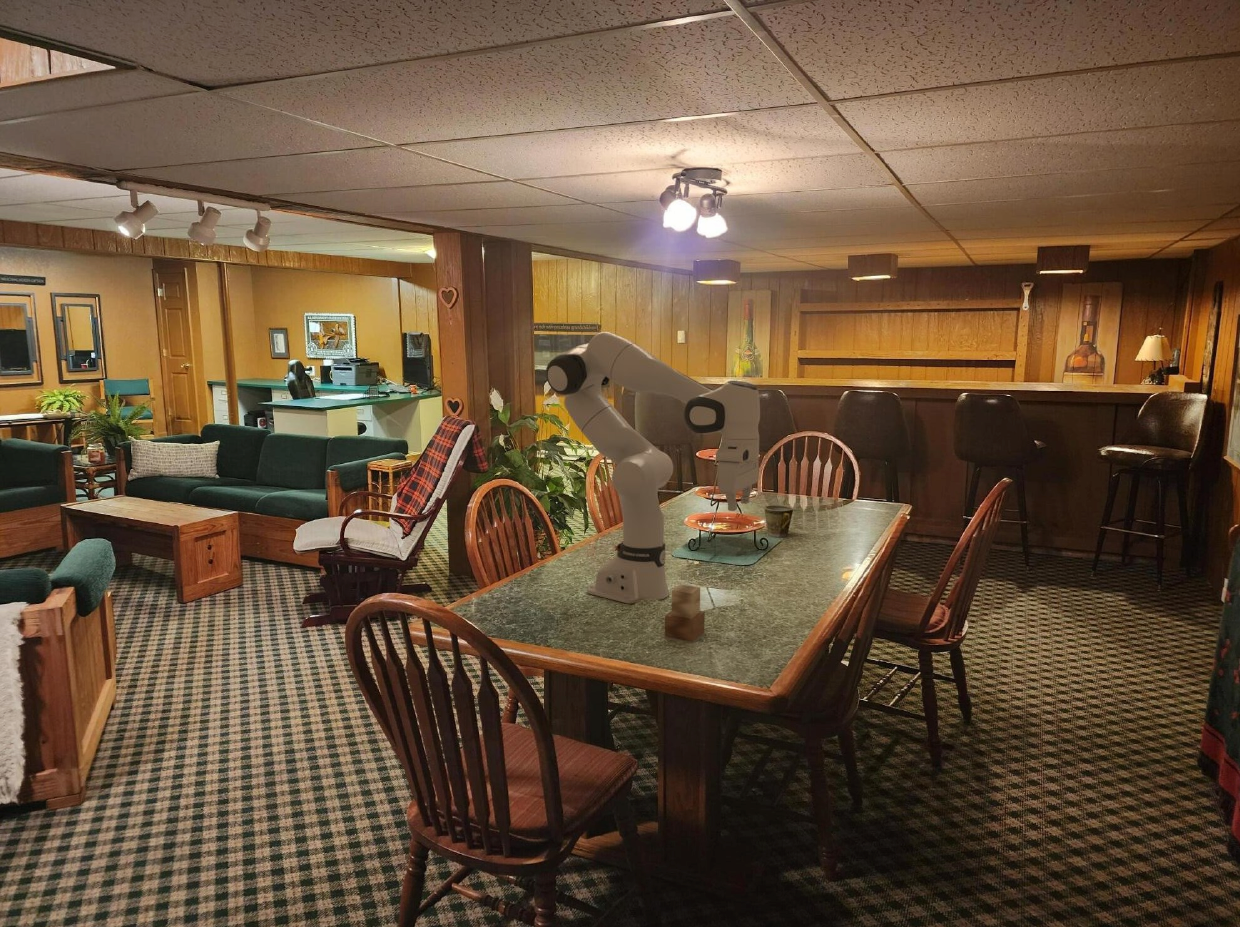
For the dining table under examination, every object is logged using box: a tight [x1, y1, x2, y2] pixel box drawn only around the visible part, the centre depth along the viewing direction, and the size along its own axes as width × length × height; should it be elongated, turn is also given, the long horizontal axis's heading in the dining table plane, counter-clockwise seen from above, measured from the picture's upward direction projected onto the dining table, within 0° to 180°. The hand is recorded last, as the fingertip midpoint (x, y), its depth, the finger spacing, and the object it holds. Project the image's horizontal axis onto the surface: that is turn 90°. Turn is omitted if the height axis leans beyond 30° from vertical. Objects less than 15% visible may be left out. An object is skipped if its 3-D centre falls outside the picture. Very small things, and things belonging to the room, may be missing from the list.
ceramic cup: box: [764, 504, 794, 538], centre depth 284 cm, size 13×10×10 cm
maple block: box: [670, 583, 701, 619], centre depth 185 cm, size 5×5×6 cm
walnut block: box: [664, 610, 706, 643], centre depth 185 cm, size 7×7×5 cm
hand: (738, 506), depth 193 cm, fingers open, 8 cm apart
